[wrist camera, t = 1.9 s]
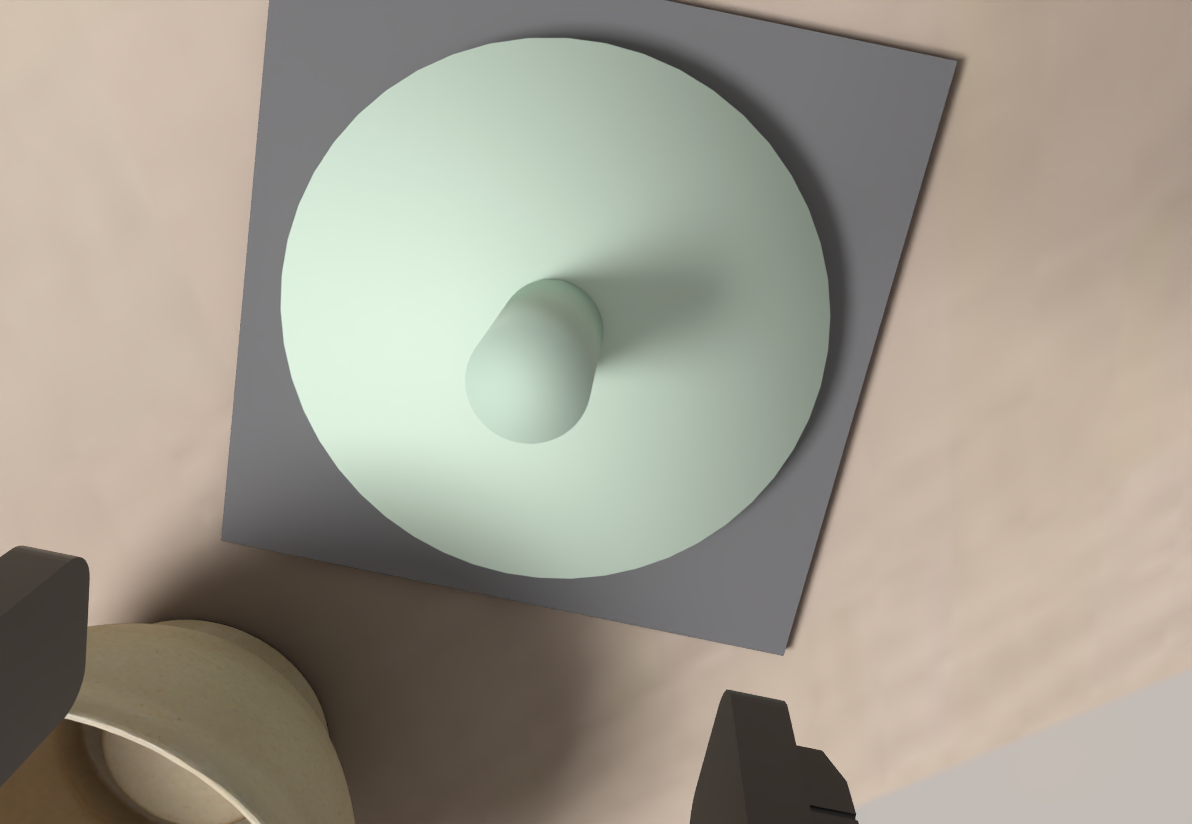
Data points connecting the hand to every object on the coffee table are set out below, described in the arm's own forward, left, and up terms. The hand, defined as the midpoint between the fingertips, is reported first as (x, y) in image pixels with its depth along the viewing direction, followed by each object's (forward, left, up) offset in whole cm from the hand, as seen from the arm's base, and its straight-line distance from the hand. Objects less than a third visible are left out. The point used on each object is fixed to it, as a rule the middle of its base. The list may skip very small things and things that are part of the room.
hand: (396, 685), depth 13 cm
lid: (0, 0, -21) cm, 21 cm away
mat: (0, 0, -21) cm, 21 cm away
